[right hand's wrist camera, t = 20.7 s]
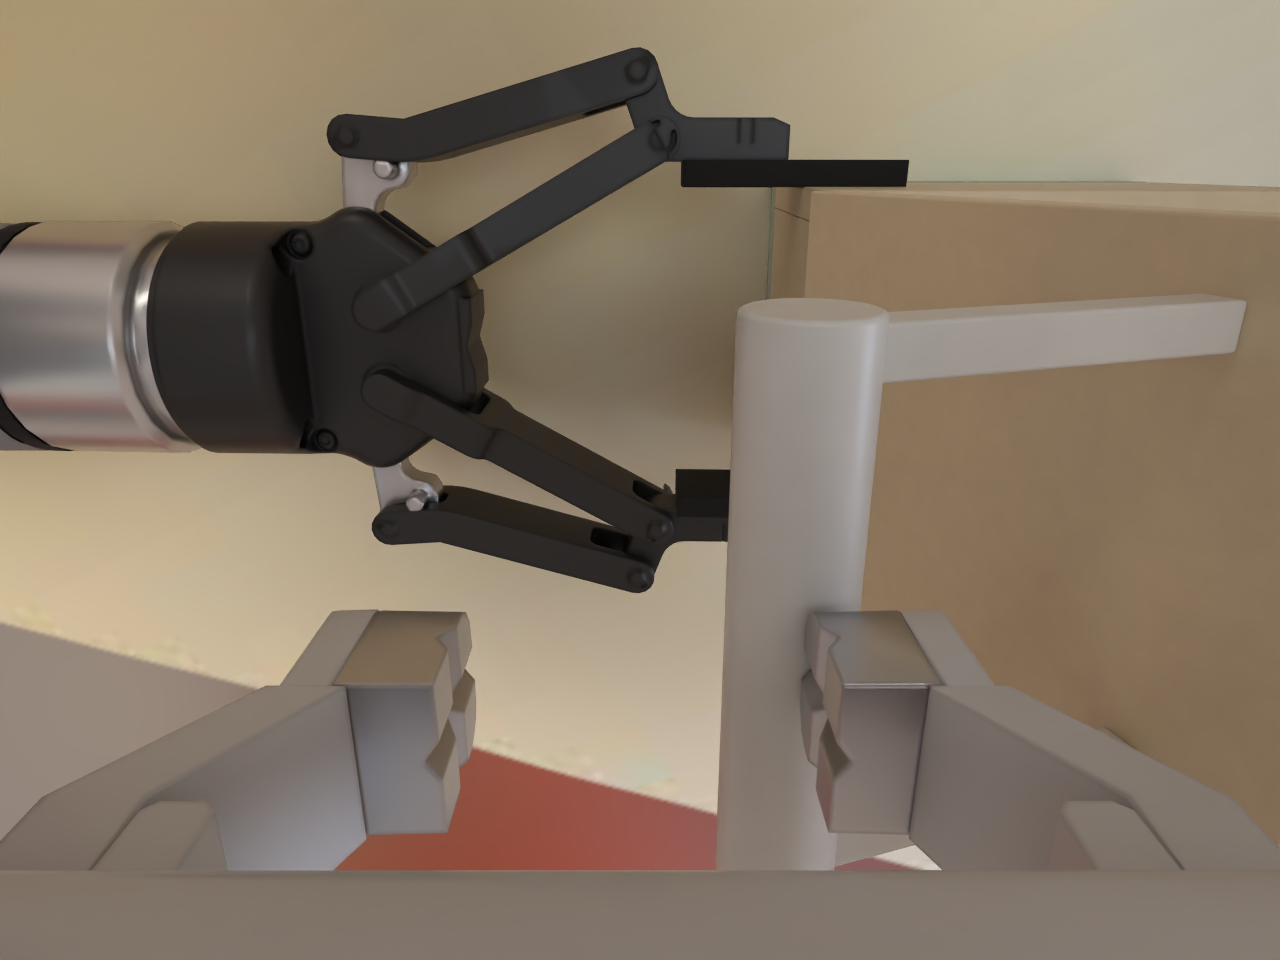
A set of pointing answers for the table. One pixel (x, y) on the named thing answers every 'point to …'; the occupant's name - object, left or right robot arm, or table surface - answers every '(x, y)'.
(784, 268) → the chest
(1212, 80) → the table surface
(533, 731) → the table surface
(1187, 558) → the lid
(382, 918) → the right robot arm
